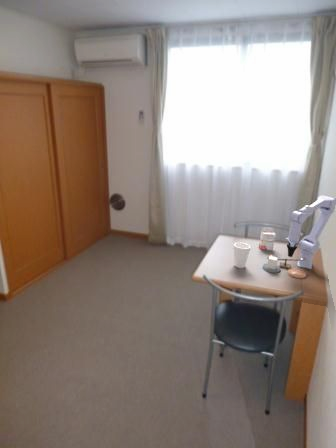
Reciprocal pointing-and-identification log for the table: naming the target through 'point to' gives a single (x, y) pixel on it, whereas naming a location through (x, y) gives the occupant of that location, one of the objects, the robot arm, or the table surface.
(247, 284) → the table surface
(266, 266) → the dish slate
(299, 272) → the dish terracotta
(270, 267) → the cream block
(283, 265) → the balance
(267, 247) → the ink cartridge box
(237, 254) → the foam cup
